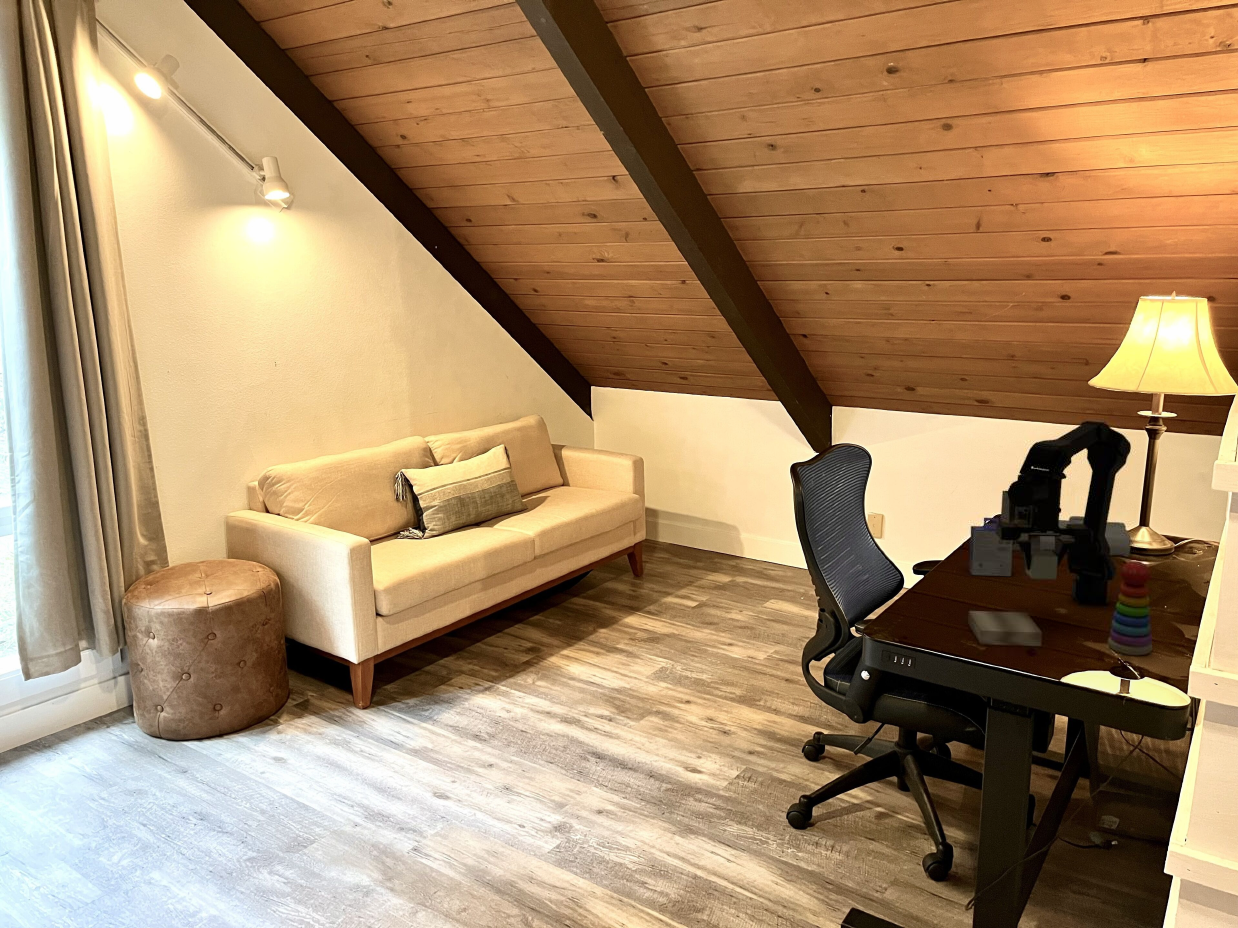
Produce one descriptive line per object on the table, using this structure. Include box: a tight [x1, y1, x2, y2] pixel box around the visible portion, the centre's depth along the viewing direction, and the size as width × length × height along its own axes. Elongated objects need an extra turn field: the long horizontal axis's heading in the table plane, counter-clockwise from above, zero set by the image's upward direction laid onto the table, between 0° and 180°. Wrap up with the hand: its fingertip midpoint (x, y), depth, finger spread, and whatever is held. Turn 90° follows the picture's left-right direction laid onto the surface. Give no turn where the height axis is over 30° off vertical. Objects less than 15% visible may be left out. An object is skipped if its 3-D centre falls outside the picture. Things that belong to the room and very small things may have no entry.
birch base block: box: [968, 610, 1043, 647], centre depth 196 cm, size 12×12×3 cm
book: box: [1038, 515, 1134, 558], centre depth 258 cm, size 19×28×8 cm
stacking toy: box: [1107, 560, 1153, 656], centre depth 185 cm, size 8×8×19 cm
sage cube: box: [1025, 550, 1058, 580], centre depth 201 cm, size 5×5×5 cm
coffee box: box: [1000, 490, 1040, 551], centre depth 259 cm, size 9×6×16 cm
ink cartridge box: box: [969, 517, 1013, 577], centre depth 237 cm, size 10×6×14 cm, turn 78°
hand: (1040, 570), depth 201 cm, fingers closed on sage cube, 5 cm apart
